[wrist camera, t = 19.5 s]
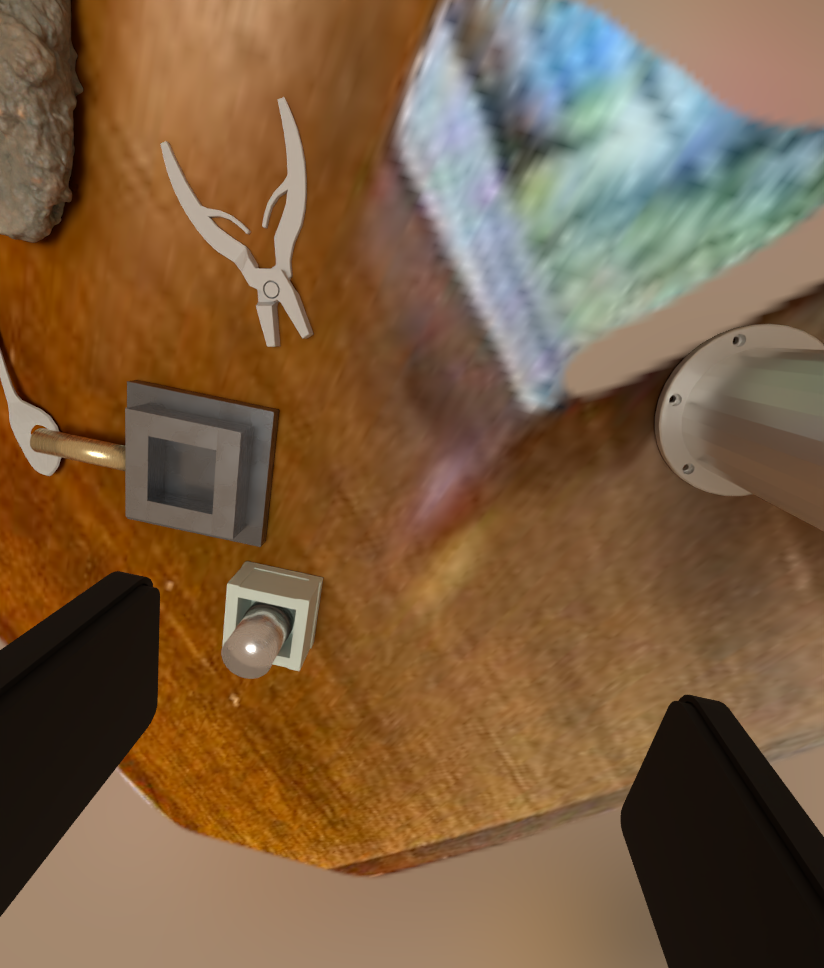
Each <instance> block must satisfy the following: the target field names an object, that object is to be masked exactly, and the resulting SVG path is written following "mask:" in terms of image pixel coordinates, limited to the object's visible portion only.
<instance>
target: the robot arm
mask: <svg viewBox="0 0 824 968" xmlns="http://www.w3.org/2000/svg"><path fill="white" fill-rule="evenodd" d="M734 337H735V342H734V343H733V339H734ZM672 395H673V400H672V401H671V402H669V399H670V397H671V396H672ZM655 435H656V440H657V445H658V448H659V450H660V452H661V454H662V457H663V459H664V460H665V462H666V463H667V464H668V466H669V467H670V468H671V470H672V471H673V472H674V473H675V474H677V475H678V476H679V477H680V478H681V479H682V480H684V481H686V482H687V483H689V484H691V485H692V486H694V487H696V488H698V489H700V490H703V491H705V492H708V493H712V494H717V495H722V496H745V495H752V494H754V495H756V496H758V497H759V498H761V499H763V500H765V501H767V502H769V503H771V504H773V505H775V506H776V507H778V508H780V509H782V510H784V511H786V512H788V513H790V514H792V515H793V516H795V517H797V518H799V519H801V520H803V521H805V522H807V523H809V524H810V525H812V526H814V527H816V528H818V529H820V530H822V531H824V344H823V343H822V342H821V341H820V340H818V339H817V338H815V337H814V336H812V335H810V334H808V333H807V332H805V331H803V330H800V329H796V328H793V327H790V326H786V325H775V324H756V325H748V326H743V327H738V328H734V329H731V330H728V331H726V332H723V333H720V334H718V335H716V336H714V337H712V338H711V339H709V340H707V341H705V342H704V343H702V344H700V345H699V346H698V347H697V348H695V349H694V350H693V351H692V352H690V353H689V354H688V355H687V356H686V357H685V358H684V359H683V360H682V361H681V362H680V364H679V365H678V366H677V367H676V368H675V369H674V371H673V372H672V374H671V375H670V377H669V378H668V380H667V382H666V383H665V385H664V387H663V390H662V392H661V395H660V397H659V400H658V404H657V409H656V413H655ZM684 465H686V467H685V468H683V466H684ZM159 615H160V592H159V590H158V589H157V588H154V587H153V583H152V581H151V579H149V578H147V577H143V576H138V575H134V574H129V573H124V572H120V571H117V572H113V573H111V574H109V575H108V576H106V577H105V578H103V579H102V580H100V581H99V582H98V583H96V584H95V585H93V586H92V587H90V588H89V589H87V590H86V591H85V592H83V593H82V594H80V595H79V596H77V597H76V598H75V599H73V600H72V601H70V602H69V603H67V604H66V605H65V606H63V607H62V608H60V609H59V610H57V611H56V612H54V613H53V614H52V615H50V616H49V617H47V618H46V619H44V620H43V621H42V622H40V623H39V624H37V625H36V626H34V627H33V628H32V629H30V630H29V631H27V632H26V633H24V634H23V635H21V636H20V637H19V638H17V639H16V640H14V641H13V642H11V643H10V644H9V645H7V646H6V647H4V648H3V649H1V650H0V916H1V915H2V914H3V913H4V911H5V910H6V909H7V908H8V906H9V905H10V904H11V902H12V901H13V900H14V899H15V897H16V896H17V895H18V893H19V892H20V891H21V890H22V888H23V887H24V886H25V884H26V883H27V882H28V881H29V879H30V878H31V877H32V875H33V874H34V873H35V872H36V870H37V869H38V868H39V866H40V865H41V864H42V862H43V861H44V860H45V859H46V857H47V856H48V855H49V854H50V852H51V851H52V850H53V848H54V847H55V846H56V845H57V843H58V842H59V840H60V839H61V838H62V837H63V836H64V834H65V833H66V832H67V830H68V829H69V827H71V825H72V824H73V823H74V821H75V820H76V819H77V818H78V816H79V815H80V814H81V812H82V811H83V810H84V809H85V807H86V806H87V805H88V803H89V802H90V801H91V800H92V798H93V797H94V796H95V794H96V793H97V792H98V791H99V789H100V788H101V787H102V785H103V784H104V783H105V781H106V780H107V779H108V777H109V776H110V775H111V774H112V773H113V771H114V770H115V769H116V767H117V766H118V765H119V764H120V762H121V761H122V760H123V758H124V757H125V756H126V755H127V753H128V752H129V751H130V749H131V748H132V747H133V746H134V744H135V743H136V742H137V740H138V739H139V738H140V737H141V735H142V734H143V733H144V731H145V730H146V729H147V728H148V726H149V725H150V723H151V721H152V719H153V717H154V715H155V712H156V708H157V697H158V656H159ZM621 828H622V832H623V836H624V838H625V841H626V844H627V847H628V850H629V853H630V856H631V859H632V862H633V865H634V868H635V871H636V874H637V877H638V879H639V882H640V885H641V888H642V891H643V894H644V897H645V900H646V903H647V906H648V909H649V912H650V915H651V918H652V920H653V923H654V926H655V929H656V932H657V935H658V938H659V941H660V944H661V947H662V950H663V953H664V956H665V958H666V961H667V964H668V967H669V968H824V837H823V835H822V834H821V833H820V832H819V830H818V829H817V827H816V826H815V825H814V823H813V822H812V820H811V819H810V818H809V816H808V815H807V814H806V812H805V811H804V810H803V808H802V807H801V806H800V804H799V803H798V801H797V800H796V799H795V797H794V796H793V795H792V793H791V792H790V791H789V789H788V788H787V787H786V785H785V784H784V783H783V781H782V780H781V779H780V777H779V776H778V774H777V773H776V772H775V770H774V769H773V768H772V766H771V765H770V764H769V762H768V761H767V760H766V758H765V757H764V755H763V754H762V753H761V751H760V750H759V749H758V747H757V746H756V745H755V743H754V742H753V741H752V739H751V738H750V737H749V735H748V734H747V732H746V731H745V730H744V728H743V727H742V726H741V724H740V723H739V722H738V720H737V719H736V718H735V716H734V715H733V714H732V712H731V711H730V709H729V708H728V707H727V706H726V705H725V704H724V703H722V702H719V701H715V700H711V699H706V698H702V697H697V696H692V695H684V696H683V697H681V698H680V700H679V701H673V702H672V703H671V704H670V705H669V707H668V709H667V711H666V713H665V716H664V718H663V720H662V722H661V724H660V726H659V729H658V731H657V733H656V735H655V737H654V739H653V742H652V744H651V746H650V748H649V750H648V752H647V755H646V757H645V759H644V761H643V763H642V765H641V768H640V770H639V772H638V774H637V776H636V778H635V781H634V783H633V785H632V787H631V789H630V791H629V794H628V796H627V798H626V800H625V802H624V804H623V807H622V810H621Z"/></svg>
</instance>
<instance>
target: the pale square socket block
mask: <svg viewBox="0 0 824 968" xmlns="http://www.w3.org/2000/svg"><path fill="white" fill-rule="evenodd" d="M322 583H323V577H318V576H314V575H309V574H304V573H300V572H295V571H291V570H286V569H281V568H277V567H272V566H267V565H263V564H258V563H253V562H249V561H246V562H245V563H244V564H243V566H242V568H241V569H240V570H239V571H238V572H237V573H236V574H235V575H234V577H233V578H232V579H231V580H230V581H229V582H228V583H227V594H226V607H225V620H224V634H223V645H224V643H225V642H226V641H227V639H228V638H229V637H230V635H231V634H232V633H233V631H234V630H235V629H236V627H237V626H238V624H239V623H240V622H241V620H242V619H243V616H244V615H245V613H246V612H247V610H248V609H249V608H250V606H251V605H252V604H253V603H255V602H256V601H258V602H263V603H267V604H272V605H276V606H281V607H286V608H290V609H295V610H296V615H295V622H294V626H293V629H292V631H291V633H290V635H289V637H288V639H287V640H286V641H285V642H284V644H283V645H282V647H281V649H280V651H279V653H278V654H277V656H276V658H275V660H274V662H273V665H278V666H283V667H287V668H288V669H292V670H296V671H300V669H301V667H302V665H303V662H304V660H305V658H306V656H307V654H308V651H309V649H310V648H311V647H312V645H313V643H314V636H315V630H316V623H317V616H318V610H319V603H320V596H321V590H322Z"/></svg>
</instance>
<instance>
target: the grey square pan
mask: <svg viewBox="0 0 824 968" xmlns="http://www.w3.org/2000/svg"><path fill="white" fill-rule="evenodd" d="M278 417H279V410H278V409H273V408H269V407H264V406H259V405H254V404H249V403H245V402H240V401H235V400H230V399H225V398H221V397H216V396H211V395H206V394H201V393H197V392H192V391H187V390H182V389H177V388H173V387H168V386H163V385H158V384H153V383H148V382H144V381H139V380H134V381H127V408H125V430H126V446H124V445H119V444H114V443H110V442H105V441H100V440H95V439H91V438H86V437H81V436H76V435H72V434H67V433H62V432H58V431H53V430H48V429H43V428H40V429H37V430H36V431H34V432H33V434H32V435H31V438H30V446H31V448H32V450H33V451H35V452H38V453H42V454H47V455H52V456H57V457H61V458H66V459H71V460H75V461H80V462H85V463H90V464H94V465H99V466H104V467H108V468H113V469H118V470H123V471H126V517H127V518H128V519H133V520H137V521H142V522H147V523H151V524H156V525H161V526H165V527H170V528H175V529H179V530H184V531H189V532H193V533H198V534H203V535H207V536H212V537H217V538H221V539H226V540H231V541H235V542H240V543H245V544H249V545H254V546H259V547H261V546H262V545H263V544H264V543H265V541H266V534H267V525H268V515H269V505H270V495H271V485H272V476H273V466H274V456H275V446H276V437H277V427H278Z"/></svg>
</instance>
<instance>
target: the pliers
mask: <svg viewBox="0 0 824 968" xmlns="http://www.w3.org/2000/svg"><path fill="white" fill-rule="evenodd" d="M278 104H279V108H280V113H281V118H282V124H283V130H284V136H285V143H286V152H287V168H288V175H287V177H286V179H285V180H284V182H283V183H282V184H281V185H280V186H279V187H278V188H277V190H276V191H275V192H274V193H273V195H272V197H271V198H270V200H269V202H268V204H267V207H266V210H265V214H264V219H263V225H262V227H264V228H268V223H269V218H270V215H271V212H272V209H273V206H274V205H275V203H276V202H277V200H278V199H279V197H281V196H282V195H284V194H285V193H287V201H286V206H285V209H284V212H283V215H282V218H281V221H280V224H279V226H278V229H277V232H276V234H275V237H274V240H275V253H276V265H275V266H274V267H273V268H271V269H259V268H258V264H257V262H256V260H255V259H254V257H253V255H252V254H251V252H250V250H249V249H248V248H247V247H246V246H244V245H243V244H242V243H240V242H239V241H237V240H236V239H234V238H233V237H231V236H230V235H229V234H227V233H226V232H225V231H223V230H222V229H221V228H219V227H218V225H217V224H216V223H215V222H214V221H213V220H212V219H211V218H214V217H223V218H226V219H229V220H231V221H233V222H234V223H235V224H237V225H238V226H239V227H240V228H242V229H243V230H244V231H245V232H246V233H247V234H250V233H251V231H250V230H249V229H248V228H247V227H246V226H245V225H244V224H242V223H241V222H240V221H239V220H237V219H236V218H235V217H233V216H231V215H229V214H227V213H225V212H222V211H220V210H214V209H208V208H205V207H203V206H202V205H201V203H200V202H199V200H198V199H197V197H196V195H195V194H194V192H193V190H192V189H191V187H190V185H189V184H188V182H187V180H186V178H185V176H184V174H183V172H182V170H181V168H180V165H179V163H178V161H177V159H176V157H175V155H174V152H173V150H172V148H171V146H170V143H168V142H167V141H166V142H163V143H160V144H161V148H162V153H163V157H164V161H165V165H166V169H167V172H168V176H169V178H170V181H171V183H172V186H173V189H174V191H175V193H176V195H177V197H178V199H179V202H180V204H181V206H182V207H183V209H184V211H185V212H186V214H187V216H188V217H189V219H190V220H191V222H192V223H193V225H194V226H195V227H196V229H197V230H198V231H199V233H200V234H201V235H202V236H203V237H204V239H205V240H206V241H207V242H208V243H209V244H210V245H211V246H212V247H213V248H214V249H215V250H216V251H217V252H219V253H220V254H222V255H224V256H225V257H227V258H229V259H230V260H232V261H233V262H235V264H236V265H237V266H238V268H239V269H240V271H241V272H242V274H243V275H244V277H245V279H246V280H247V282H248V284H249V285H250V286H251V287H254V288H256V289H258V300H259V302H258V304H257V305H256V308H257V312H258V315H259V319H260V323H261V326H262V330H263V333H264V337H265V340H266V344H267V346H280V337H279V325H278V312H277V305H278V302H281V304H282V305H283V307H284V309H285V310H286V312H287V314H288V315H289V317H290V319H291V320H292V322H293V324H294V325H295V327H296V329H297V330H298V332H299V334H300V335H301V337H302V338H309V337H310V336H312V335H313V331H312V328H311V326H310V323H309V320H308V317H307V315H306V312H305V309H304V306H303V304H302V301H301V298H300V296H299V293H298V292H297V291H296V290H295V288H294V287H293V285H292V283H291V282H290V279H291V278H292V265H291V259H292V254H293V249H294V244H295V242H296V240H297V237H298V235H299V233H300V230H301V228H302V225H303V220H304V216H305V211H306V199H307V177H306V163H305V158H304V152H303V146H302V143H301V139H300V135H299V131H298V128H297V125H296V123H295V120H294V117H293V115H292V113H291V110H290V108H289V106H288V103H287V101H286V99H285V98H284V97H283V98H280V99H278Z"/></svg>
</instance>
